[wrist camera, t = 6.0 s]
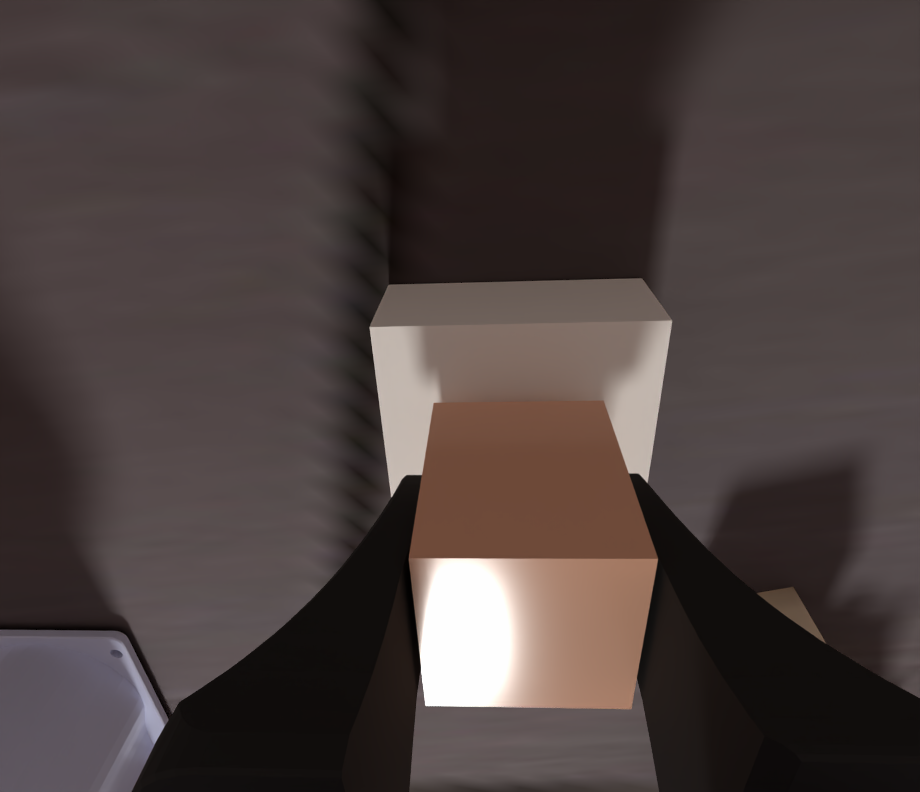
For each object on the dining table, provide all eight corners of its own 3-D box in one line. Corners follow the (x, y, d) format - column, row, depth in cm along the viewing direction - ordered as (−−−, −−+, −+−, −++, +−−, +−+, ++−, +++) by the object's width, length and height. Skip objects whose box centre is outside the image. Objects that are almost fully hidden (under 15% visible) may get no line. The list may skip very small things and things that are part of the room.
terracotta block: (591, 529, 16) (631, 708, 11) (442, 529, 16) (426, 705, 11) (603, 400, 14) (657, 558, 9) (433, 402, 14) (408, 558, 9)
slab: (617, 480, 19) (637, 546, 17) (409, 481, 20) (397, 545, 17) (641, 278, 16) (672, 320, 13) (388, 284, 16) (369, 326, 14)
